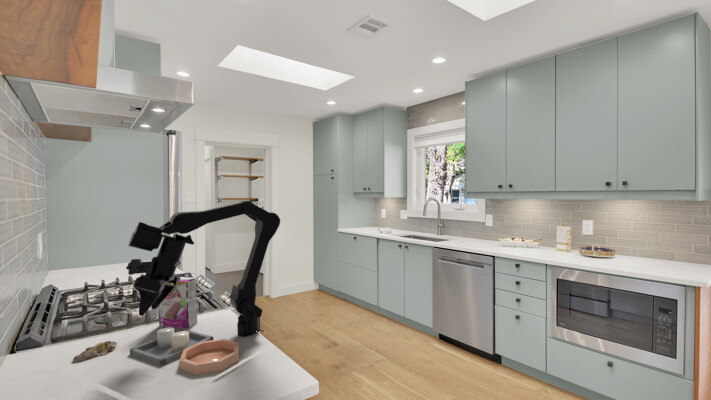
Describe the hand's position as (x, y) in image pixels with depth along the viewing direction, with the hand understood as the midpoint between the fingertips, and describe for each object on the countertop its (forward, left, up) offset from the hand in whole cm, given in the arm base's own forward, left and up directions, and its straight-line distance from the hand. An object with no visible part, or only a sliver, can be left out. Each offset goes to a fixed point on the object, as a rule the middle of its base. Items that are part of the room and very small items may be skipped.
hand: (147, 311), depth 96 cm
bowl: (-6, +17, -13) cm, 22 cm away
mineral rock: (+6, -15, -13) cm, 21 cm away
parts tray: (-6, +1, -13) cm, 14 cm away
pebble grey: (-6, -2, -12) cm, 14 cm away
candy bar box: (-18, -13, -13) cm, 26 cm away
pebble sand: (-6, +4, -12) cm, 14 cm away
